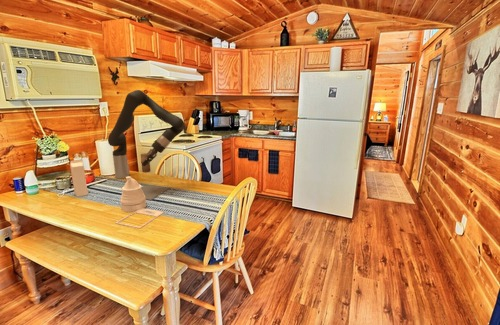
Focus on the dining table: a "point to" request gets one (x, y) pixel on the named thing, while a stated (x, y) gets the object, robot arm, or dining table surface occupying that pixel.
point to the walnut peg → (147, 167)
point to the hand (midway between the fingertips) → (142, 164)
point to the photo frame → (144, 212)
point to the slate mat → (153, 191)
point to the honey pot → (132, 196)
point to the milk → (78, 178)
